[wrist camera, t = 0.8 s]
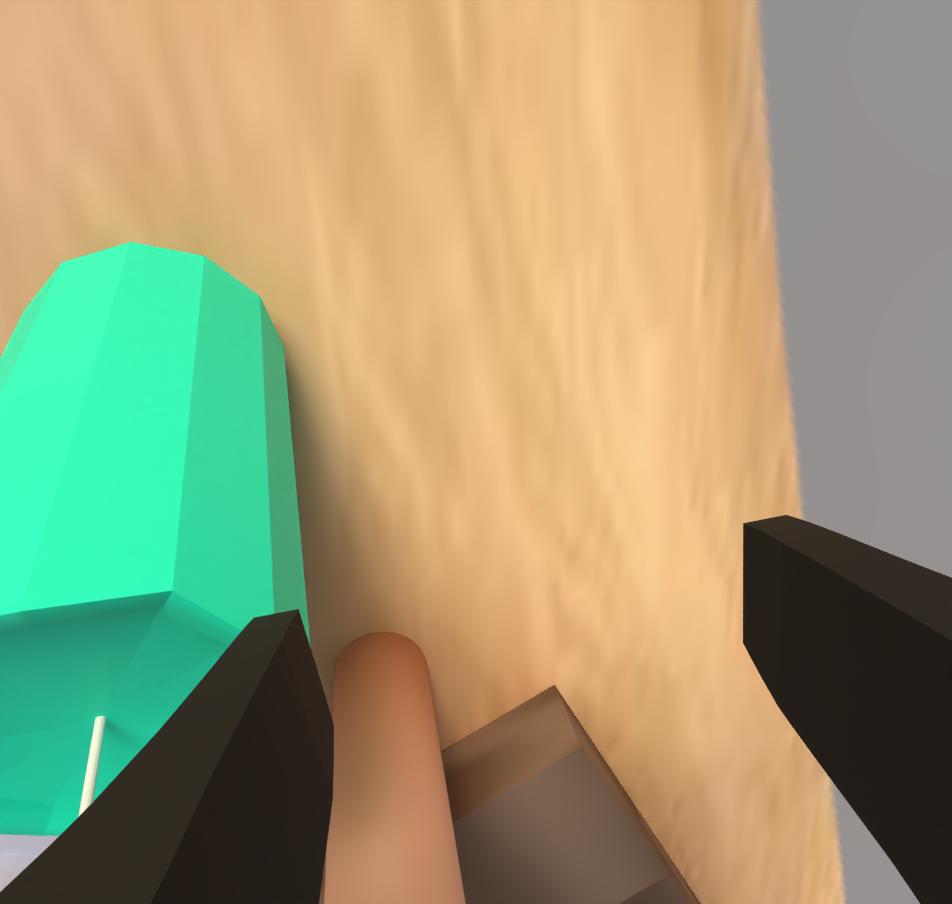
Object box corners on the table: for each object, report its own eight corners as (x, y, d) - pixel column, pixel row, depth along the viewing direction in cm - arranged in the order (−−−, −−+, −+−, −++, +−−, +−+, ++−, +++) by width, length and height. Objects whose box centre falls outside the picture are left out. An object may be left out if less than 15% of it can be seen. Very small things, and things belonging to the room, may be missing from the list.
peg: (366, 725, 23) (375, 1041, 14) (315, 664, 22) (289, 964, 13) (443, 680, 23) (499, 969, 14) (395, 616, 22) (423, 885, 13)
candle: (329, 379, 19) (406, 825, 10) (152, 484, 20) (79, 988, 11) (171, 190, 15) (71, 653, 6) (-44, 330, 16) (-415, 929, 7)
